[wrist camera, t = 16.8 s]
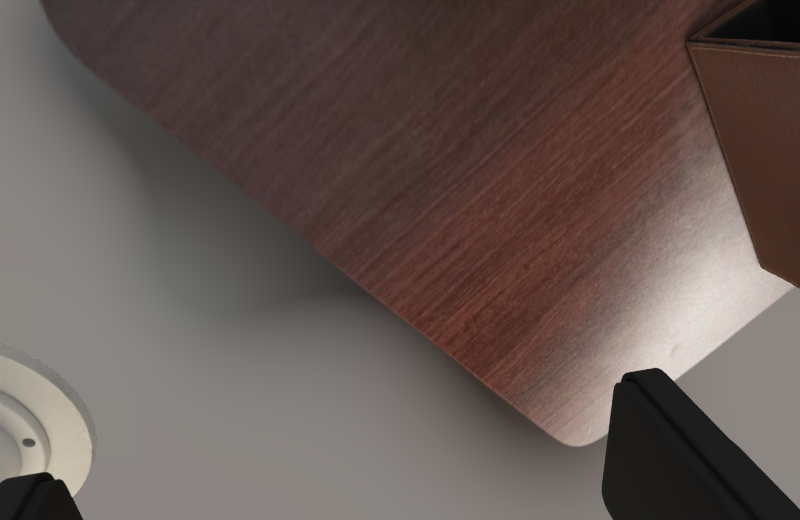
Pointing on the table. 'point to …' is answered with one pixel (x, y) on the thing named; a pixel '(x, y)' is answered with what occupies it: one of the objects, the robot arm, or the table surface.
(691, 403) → the robot arm
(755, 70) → the letter holder
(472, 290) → the table surface
